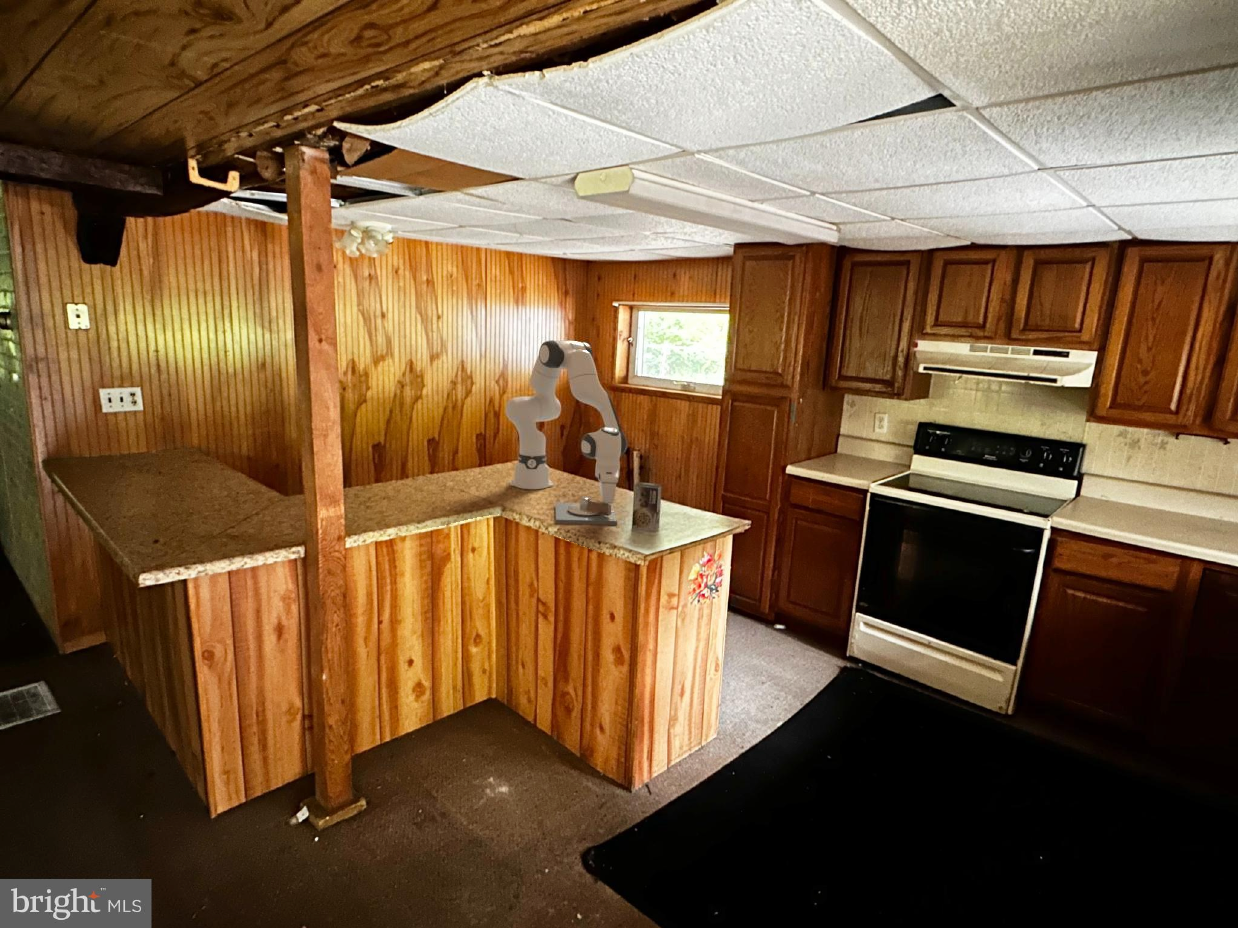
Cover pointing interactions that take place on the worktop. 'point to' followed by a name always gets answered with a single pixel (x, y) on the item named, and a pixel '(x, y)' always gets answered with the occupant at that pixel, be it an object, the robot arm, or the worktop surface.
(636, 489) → the coffee box
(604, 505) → the dial
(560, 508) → the dial plate
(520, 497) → the worktop surface
